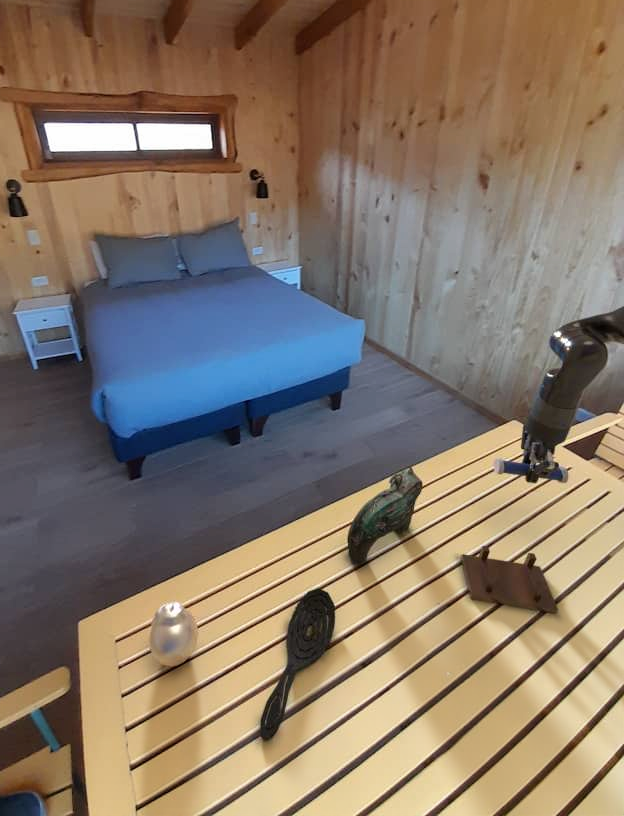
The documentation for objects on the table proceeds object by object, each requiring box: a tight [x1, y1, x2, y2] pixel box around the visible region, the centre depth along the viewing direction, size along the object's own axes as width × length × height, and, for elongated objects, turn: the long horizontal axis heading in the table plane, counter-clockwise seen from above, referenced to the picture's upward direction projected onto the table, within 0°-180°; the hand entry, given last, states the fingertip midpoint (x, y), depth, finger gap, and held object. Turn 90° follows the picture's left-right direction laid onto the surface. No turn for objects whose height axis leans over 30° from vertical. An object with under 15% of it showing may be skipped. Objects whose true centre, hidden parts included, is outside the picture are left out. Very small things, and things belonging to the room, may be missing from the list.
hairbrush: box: [259, 587, 336, 741], centre depth 73 cm, size 8×4×25 cm
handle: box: [493, 457, 569, 484], centre depth 91 cm, size 14×4×4 cm, turn 78°
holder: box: [460, 545, 559, 614], centre depth 84 cm, size 16×9×7 cm, turn 79°
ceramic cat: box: [346, 466, 423, 566], centre depth 90 cm, size 20×6×20 cm, turn 123°
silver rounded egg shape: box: [148, 601, 199, 667], centre depth 74 cm, size 9×10×10 cm
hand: (527, 475), depth 92 cm, fingers closed on handle, 3 cm apart
